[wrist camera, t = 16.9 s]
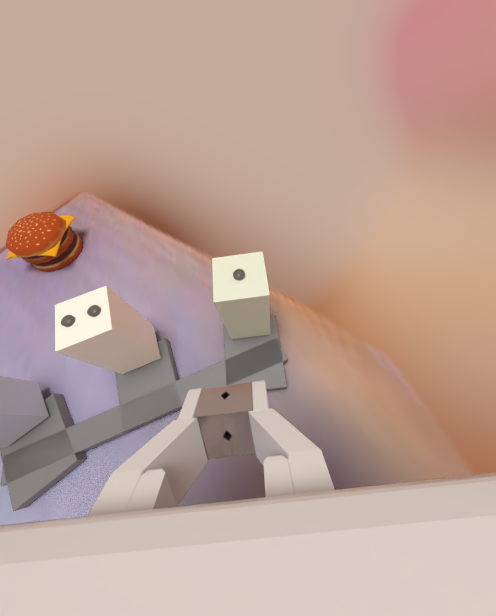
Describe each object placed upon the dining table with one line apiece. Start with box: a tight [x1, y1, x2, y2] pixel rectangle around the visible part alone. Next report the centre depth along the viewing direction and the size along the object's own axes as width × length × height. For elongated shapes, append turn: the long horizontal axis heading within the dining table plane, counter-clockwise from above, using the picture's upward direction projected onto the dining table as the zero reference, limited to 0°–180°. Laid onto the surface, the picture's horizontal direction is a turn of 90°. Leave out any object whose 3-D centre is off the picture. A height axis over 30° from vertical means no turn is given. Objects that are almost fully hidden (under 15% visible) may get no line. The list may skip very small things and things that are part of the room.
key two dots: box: [55, 286, 161, 374], centre depth 26 cm, size 5×5×10 cm
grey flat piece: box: [0, 316, 287, 511], centre depth 28 cm, size 12×36×2 cm, turn 113°
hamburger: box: [6, 212, 83, 272], centre depth 39 cm, size 9×10×7 cm
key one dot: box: [212, 252, 270, 339], centre depth 26 cm, size 5×5×10 cm
